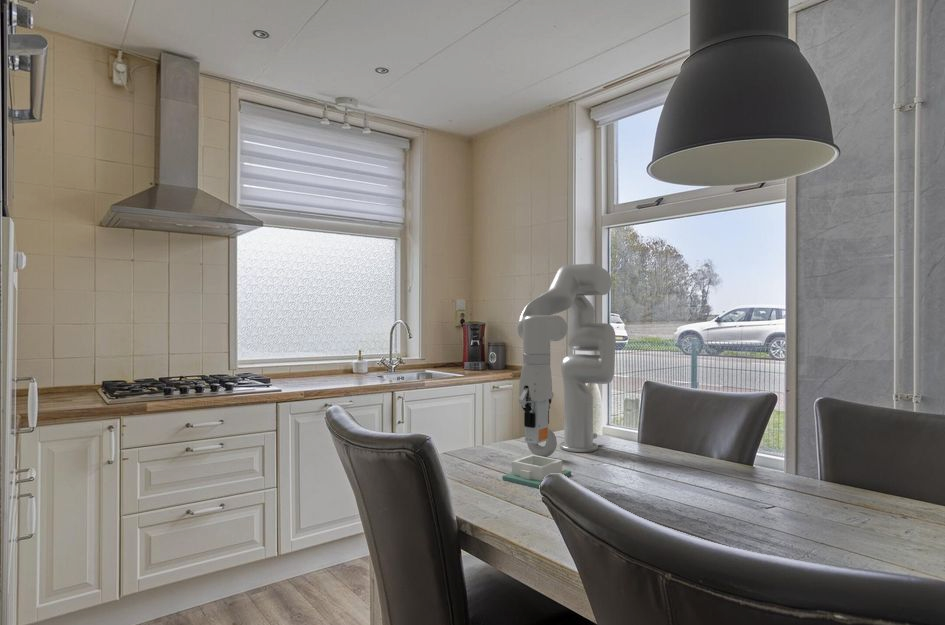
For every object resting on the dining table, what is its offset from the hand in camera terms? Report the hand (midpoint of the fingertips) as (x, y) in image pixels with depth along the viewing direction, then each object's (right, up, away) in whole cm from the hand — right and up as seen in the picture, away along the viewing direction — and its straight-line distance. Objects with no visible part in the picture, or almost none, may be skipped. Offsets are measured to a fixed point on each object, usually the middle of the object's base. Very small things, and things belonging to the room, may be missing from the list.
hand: (536, 424), depth 152 cm
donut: (+4, -15, +22) cm, 27 cm away
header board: (0, -14, 0) cm, 14 cm away
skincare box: (0, -5, 0) cm, 5 cm away
